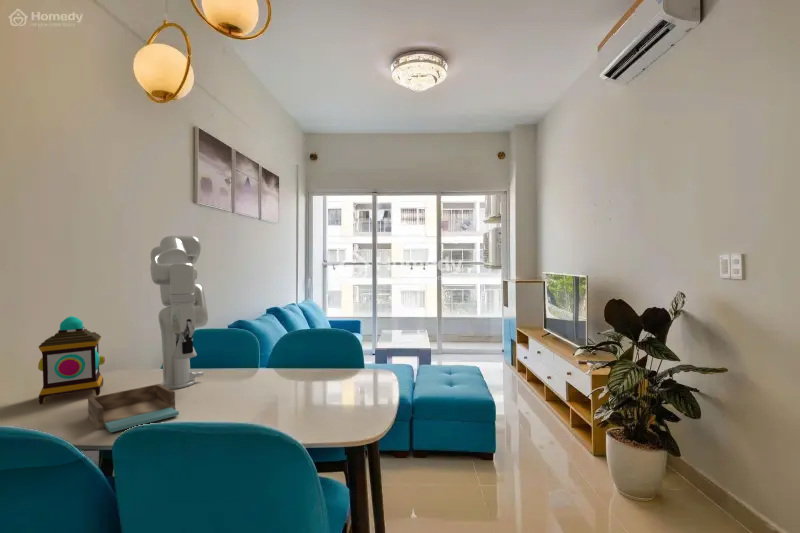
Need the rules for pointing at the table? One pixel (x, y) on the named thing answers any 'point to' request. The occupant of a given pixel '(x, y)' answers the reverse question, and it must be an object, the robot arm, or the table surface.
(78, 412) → the table surface
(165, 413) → the teal panel
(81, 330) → the decorative lantern
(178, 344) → the flask
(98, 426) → the crate
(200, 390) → the table surface
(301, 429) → the table surface
